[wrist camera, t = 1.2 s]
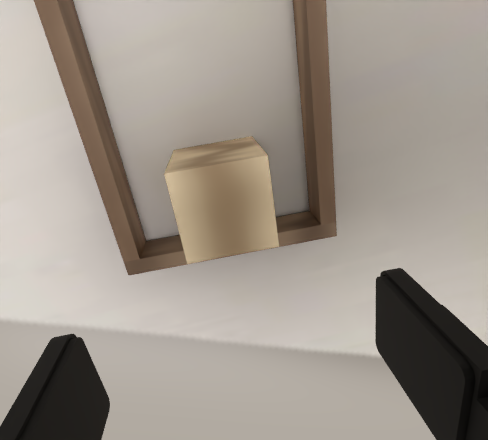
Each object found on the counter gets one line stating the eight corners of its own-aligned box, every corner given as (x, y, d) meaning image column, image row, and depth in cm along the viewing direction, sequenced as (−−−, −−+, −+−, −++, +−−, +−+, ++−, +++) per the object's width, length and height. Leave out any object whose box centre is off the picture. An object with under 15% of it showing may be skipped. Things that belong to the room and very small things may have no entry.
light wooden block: (252, 136, 26) (268, 155, 19) (262, 208, 28) (279, 246, 22) (173, 149, 25) (163, 173, 19) (190, 221, 28) (186, 264, 21)
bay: (305, -91, 21) (320, -117, 18) (324, 221, 29) (336, 235, 26) (35, -51, 20) (9, -72, 17) (135, 256, 28) (128, 275, 26)
